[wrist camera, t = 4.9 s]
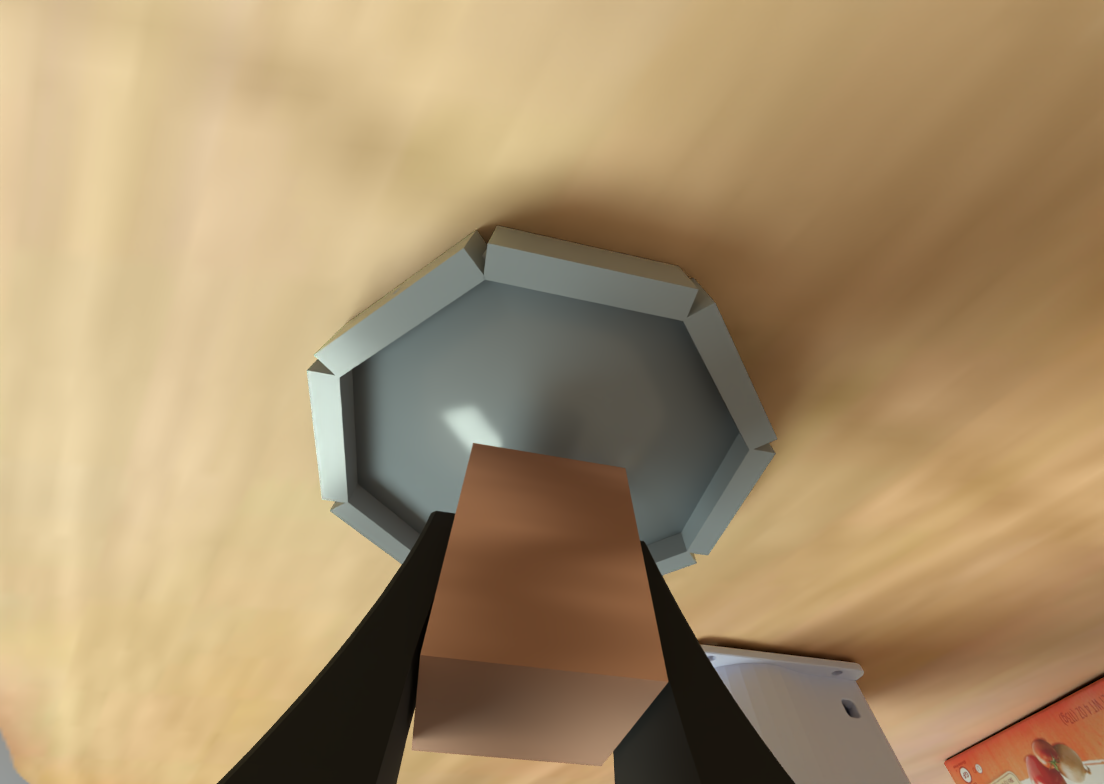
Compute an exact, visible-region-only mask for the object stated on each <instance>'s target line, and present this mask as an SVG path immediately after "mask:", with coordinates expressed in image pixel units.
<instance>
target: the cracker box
mask: <svg viewBox="0 0 1104 784" xmlns="http://www.w3.org/2000/svg"><path fill="white" fill-rule="evenodd" d="M944 764H945V766H946V768H947V769H948V771H949V773H950V774H951V776H952V778H953V780H954V781H955V783H956V784H1104V677H1103V678H1101V679H1099V680H1098V681H1096V682H1094V683H1092V684H1090V685H1088V686H1086V687H1084V688H1082V689H1081V690H1079V691H1077V692H1075V693H1073V694H1071V695H1069V696H1068V697H1066V698H1064V699H1062V700H1060V701H1058V702H1056V703H1055V704H1053V705H1051V706H1049V707H1047V708H1045V709H1043V710H1041V711H1039V712H1038V713H1036V714H1034V715H1032V716H1030V717H1028V718H1026V719H1024V720H1022V721H1020V722H1018V723H1017V724H1015V725H1013V726H1011V727H1009V728H1007V729H1005V730H1003V731H1001V732H1000V733H998V734H996V735H994V736H992V737H990V738H988V739H986V740H985V741H983V742H981V743H979V744H977V745H975V746H973V747H971V748H969V749H967V750H965V751H964V752H962V753H960V754H958V755H956V756H954V757H952V758H950V759H948V760H946V761H945V762H944Z"/></svg>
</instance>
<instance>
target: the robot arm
mask: <svg viewBox="0 0 1104 784" xmlns="http://www.w3.org/2000/svg"><path fill="white" fill-rule="evenodd" d="M455 514H456V513H449V512H442V511H434V512H432V513H431V514H430V516H429V518H428V521H427V523H426V525H425V527H424V528H423V530H422V532H421V534H420V536H419V538H418V539H417V541H416V543H415V544H414V546H413V548H412V549H411V551H410V553H409V554H408V556H407V557H406V559H405V561H404V562H403V564H402V565H401V567H400V568H399V570H398V571H397V573H396V574H395V576H394V577H393V578H392V580H391V581H390V583H389V584H388V586H387V587H386V589H385V590H384V592H383V593H382V594H381V596H380V597H379V599H378V600H377V601H376V603H375V604H374V605H373V607H372V608H371V609H370V611H369V612H368V613H367V615H366V616H365V617H364V619H363V620H362V621H361V622H360V624H359V625H358V626H357V628H356V629H355V630H354V632H353V633H352V634H351V636H350V637H349V638H348V639H347V641H346V642H345V643H344V644H343V646H342V647H341V648H340V649H339V651H338V652H337V653H336V654H335V655H334V657H333V658H332V659H331V660H330V661H329V663H328V664H327V665H326V666H325V667H324V669H323V670H322V671H321V672H320V673H319V674H318V676H317V677H316V678H315V679H314V680H313V681H312V683H311V684H310V685H309V686H308V687H307V688H306V690H305V691H304V692H303V693H302V694H301V695H300V696H299V697H298V698H297V700H296V701H295V702H294V703H293V704H292V705H291V706H290V707H289V708H288V710H287V711H286V712H285V713H284V714H283V715H282V716H281V717H280V718H279V719H278V721H277V722H276V723H275V724H274V725H273V726H272V727H271V728H270V729H269V730H268V732H267V733H266V734H265V735H264V736H263V737H262V738H261V739H260V740H259V741H258V742H257V743H256V744H255V745H254V746H253V747H252V749H251V750H250V751H249V752H248V753H247V754H246V755H245V756H244V757H243V758H242V759H241V760H240V761H239V762H238V763H237V764H236V765H235V766H234V767H233V768H232V769H231V770H230V771H229V772H228V773H227V774H226V775H225V776H224V777H223V778H222V779H221V780H220V781H219V782H218V783H217V784H396V783H397V778H398V774H399V770H400V765H401V761H402V756H403V752H404V748H405V743H406V739H407V735H408V732H409V728H410V724H411V721H412V717H413V713H414V710H415V707H416V696H417V685H418V674H419V663H420V654H421V650H422V646H423V642H424V638H425V634H426V630H427V626H428V622H429V618H430V614H431V610H432V606H433V602H434V598H435V594H436V590H437V586H438V582H439V578H440V574H441V570H442V566H443V562H444V558H445V554H446V550H447V546H448V542H449V538H450V534H451V530H452V526H453V522H454V518H455ZM640 543H641V548H642V553H643V558H644V563H645V568H646V573H647V578H648V583H649V588H650V593H651V598H652V603H653V608H654V613H655V618H656V623H657V628H658V633H659V637H660V642H661V647H662V652H663V657H664V662H665V667H666V672H667V677H668V683H667V684H666V686H665V687H664V688H663V689H662V691H661V692H660V693H659V694H658V696H657V697H656V698H655V699H654V701H653V702H652V703H651V704H650V706H649V707H648V708H647V710H646V711H645V712H644V713H643V715H642V716H641V717H640V718H639V720H638V721H637V722H636V723H635V725H634V726H633V727H632V728H631V730H630V731H629V732H628V733H627V735H626V736H625V737H624V738H623V740H622V741H621V742H620V743H619V745H618V746H617V747H616V748H615V750H614V751H613V754H614V773H615V784H911V783H910V781H909V779H908V777H907V776H906V774H905V772H904V770H903V768H902V766H901V764H900V763H899V761H898V759H897V757H896V755H895V753H894V751H893V749H892V748H891V746H890V744H889V742H888V740H887V738H886V736H885V735H884V733H883V731H882V729H881V727H880V725H879V723H878V722H877V720H876V718H875V716H874V714H873V712H872V710H871V709H870V707H869V705H868V703H867V701H866V699H865V697H864V696H863V694H862V692H861V690H860V688H859V686H858V684H857V682H856V680H858V679H859V678H860V677H862V676H863V674H864V671H863V669H862V667H861V665H860V664H858V663H854V662H845V661H837V660H828V659H820V658H812V657H803V656H795V655H787V654H778V653H770V652H762V651H753V650H745V649H736V648H728V647H720V646H711V645H703V644H699V642H698V640H697V638H696V637H695V635H694V633H693V631H692V630H691V628H690V626H689V624H688V623H687V621H686V619H685V617H684V616H683V614H682V612H681V610H680V608H679V607H678V605H677V603H676V601H675V599H674V597H673V595H672V594H671V592H670V590H669V588H668V586H667V584H666V582H665V580H664V578H663V576H662V574H661V572H660V571H659V569H658V567H657V565H656V563H655V561H654V559H653V557H652V555H651V553H650V551H649V549H648V547H647V545H646V543H645V542H644V541H640Z"/></svg>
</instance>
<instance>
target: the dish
mask: <svg viewBox="0 0 1104 784" xmlns="http://www.w3.org/2000/svg"><path fill="white" fill-rule="evenodd" d="M314 356H315V357H316V358H317V359H318V360H317V361H316V362H315V363H314V364H313V365H312V366H311V367H310V368H309V369H308V370H307V376H308V385H309V393H310V402H311V410H312V419H313V428H314V436H315V445H316V453H317V462H318V470H319V479H320V487H321V496H322V500H329V501H335V503H334V505H333V506H332V508H331V510H330V511H331V512H332V513H333V514H335V515H336V516H337V517H339V518H340V519H341V520H343V521H344V522H346V523H347V524H348V525H350V526H351V527H352V528H354V529H355V530H356V531H358V532H359V533H360V534H362V535H363V536H364V537H366V538H367V539H369V540H370V541H371V542H373V543H374V544H375V545H377V546H378V547H379V548H381V549H382V550H383V551H385V552H386V553H387V554H389V555H390V556H392V557H393V558H394V559H396V560H397V561H398V562H400V563H401V564H403V562H404V561H405V559H406V557H407V556H408V554H409V553H410V551H411V549H412V548H413V546H414V544H415V543H416V541H417V539H418V538H419V536H420V534H421V532H422V530H423V528H424V527H425V525H426V523H427V521H428V518H429V516H430V514H431V513H432V512H434V511H442V512H449V513H456V510H457V506H458V502H459V498H460V494H461V490H462V486H463V482H464V478H465V474H466V470H467V466H468V462H469V458H470V454H471V450H472V446H473V443H477V444H483V445H489V446H495V447H501V448H507V449H513V450H519V451H525V452H531V453H537V454H543V455H549V456H555V457H561V458H567V459H573V460H579V461H585V462H592V463H598V464H604V465H610V466H616V467H622V468H625V469H626V474H627V479H628V484H629V489H630V494H631V499H632V504H633V509H634V514H635V519H636V524H637V529H638V534H639V538H640V541H644V542H645V543H646V545H647V547H648V549H649V551H650V553H651V555H652V557H653V559H654V561H655V563H656V565H657V567H658V569H659V571H660V572H661V574H662V575H665V574H667V573H670V572H673V571H676V570H679V569H682V568H684V567H687V566H690V565H693V564H696V563H697V562H696V559H695V556H694V553H695V554H702V555H709V553H710V552H711V550H712V549H713V547H714V546H715V544H716V543H717V541H718V540H719V538H720V537H721V535H722V534H723V532H724V531H725V529H726V528H727V526H728V525H729V523H730V521H731V520H732V518H733V517H734V515H735V514H736V512H737V511H738V509H739V508H740V506H741V505H742V503H743V502H744V500H745V499H746V497H747V496H748V494H749V493H750V491H751V490H752V488H753V487H754V485H755V484H756V482H757V481H758V479H759V478H760V476H761V475H762V473H763V472H764V470H765V469H766V467H767V466H768V464H769V463H770V461H771V460H772V458H773V457H774V455H775V454H776V453H775V452H774V450H773V449H772V447H771V446H770V444H769V442H772V441H774V440H777V437H776V435H775V432H774V430H773V428H772V426H771V424H770V422H769V419H768V417H767V415H766V413H765V411H764V408H763V406H762V404H761V402H760V400H759V397H758V395H757V393H756V391H755V389H754V386H753V384H752V382H751V380H750V378H749V376H748V373H747V371H746V369H745V367H744V365H743V362H742V360H741V358H740V356H739V354H738V351H737V349H736V347H735V345H734V343H733V340H732V338H731V336H730V334H729V332H728V330H727V327H726V325H725V323H724V321H723V319H722V316H721V314H720V312H719V310H718V308H717V305H716V303H715V302H714V301H713V299H712V298H711V297H710V296H709V295H708V294H707V293H706V292H705V290H704V289H703V288H702V287H701V286H700V285H699V284H698V282H697V281H696V280H695V279H694V278H692V279H689V278H688V276H687V275H686V274H685V273H684V272H683V271H682V269H681V268H680V267H679V266H676V265H671V264H667V263H663V262H658V261H654V260H649V259H645V258H640V257H636V256H631V255H627V254H622V253H618V252H614V251H609V250H605V249H600V248H596V247H591V246H587V245H582V244H578V243H573V242H569V241H565V240H560V239H556V238H551V237H547V236H542V235H538V234H533V233H529V232H524V231H520V230H516V229H511V228H507V227H502V226H498V225H497V227H496V229H495V230H494V232H493V234H492V236H491V238H490V240H489V242H488V245H487V244H486V242H485V241H484V240H483V238H482V237H481V235H480V234H479V233H478V231H477V230H475V231H474V232H472V233H471V234H470V235H468V236H467V237H466V238H464V239H463V240H461V241H460V242H459V243H457V244H456V245H454V246H453V247H452V248H450V249H449V250H448V251H446V252H445V253H443V254H442V255H441V256H439V257H438V258H436V259H435V260H434V261H432V262H431V263H430V264H428V265H427V266H425V267H424V268H423V269H421V270H420V271H418V272H417V273H416V274H414V275H413V276H412V277H410V278H409V279H407V280H406V281H405V282H403V283H402V284H401V285H399V286H398V287H396V288H395V289H394V290H392V291H391V292H389V293H388V294H387V295H385V296H384V297H383V298H381V299H380V300H378V301H377V302H376V303H374V304H373V305H371V306H370V307H369V308H367V309H366V310H365V311H363V312H362V313H360V314H359V315H358V316H356V317H355V318H353V319H352V320H351V321H349V322H348V323H347V324H345V325H344V326H343V327H342V328H341V329H340V330H339V331H338V332H337V333H336V334H335V335H334V336H333V337H332V338H331V339H330V340H328V341H327V342H326V343H325V344H324V345H323V346H322V347H321V348H320V349H319V350H318V351H317V352H316V353H315V354H314Z"/></svg>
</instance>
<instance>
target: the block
mask: <svg viewBox="0 0 1104 784" xmlns="http://www.w3.org/2000/svg"><path fill="white" fill-rule="evenodd" d="M667 683H668V677H667V672H666V667H665V662H664V657H663V652H662V647H661V642H660V637H659V633H658V628H657V623H656V618H655V613H654V608H653V603H652V598H651V593H650V588H649V583H648V578H647V573H646V568H645V563H644V558H643V553H642V548H641V543H640V538H639V534H638V529H637V524H636V519H635V514H634V509H633V504H632V499H631V494H630V489H629V484H628V479H627V474H626V469H625V468H622V467H616V466H610V465H604V464H598V463H592V462H585V461H579V460H573V459H567V458H561V457H555V456H549V455H543V454H537V453H531V452H525V451H519V450H513V449H507V448H501V447H495V446H489V445H483V444H477V443H473V446H472V450H471V454H470V458H469V462H468V466H467V470H466V474H465V478H464V482H463V486H462V490H461V494H460V498H459V502H458V506H457V510H456V514H455V518H454V522H453V526H452V530H451V534H450V538H449V542H448V546H447V550H446V554H445V558H444V562H443V566H442V570H441V574H440V578H439V582H438V586H437V590H436V594H435V598H434V602H433V606H432V610H431V614H430V618H429V622H428V626H427V630H426V634H425V638H424V642H423V646H422V650H421V654H420V663H419V674H418V685H417V696H416V707H415V718H414V729H413V740H412V750H414V751H426V752H438V753H450V754H462V755H474V756H486V757H498V758H510V759H522V760H534V761H546V762H558V763H570V764H582V765H594V766H602V765H603V763H604V762H605V761H606V760H607V758H608V757H609V756H610V755H611V753H612V752H613V751H614V750H615V748H616V747H617V746H618V745H619V743H620V742H621V741H622V740H623V738H624V737H625V736H626V735H627V733H628V732H629V731H630V730H631V728H632V727H633V726H634V725H635V723H636V722H637V721H638V720H639V718H640V717H641V716H642V715H643V713H644V712H645V711H646V710H647V708H648V707H649V706H650V704H651V703H652V702H653V701H654V699H655V698H656V697H657V696H658V694H659V693H660V692H661V691H662V689H663V688H664V687H665V686H666V684H667Z"/></svg>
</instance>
